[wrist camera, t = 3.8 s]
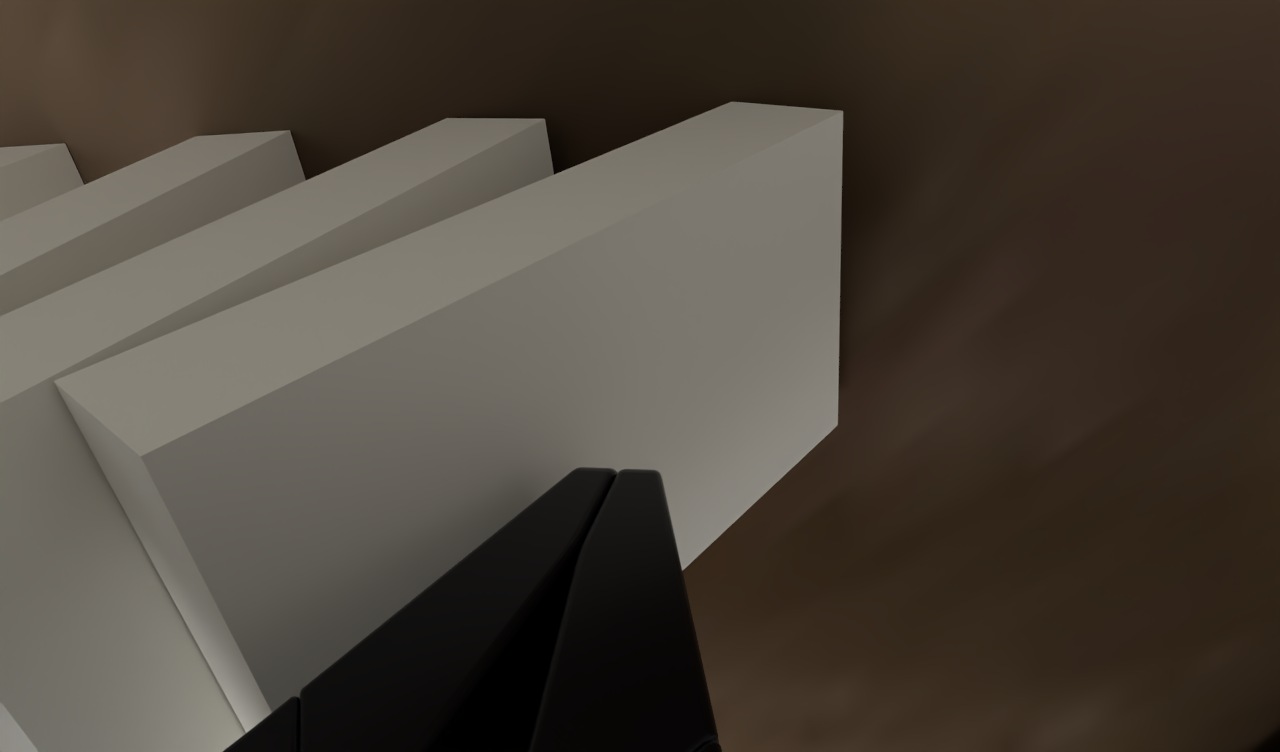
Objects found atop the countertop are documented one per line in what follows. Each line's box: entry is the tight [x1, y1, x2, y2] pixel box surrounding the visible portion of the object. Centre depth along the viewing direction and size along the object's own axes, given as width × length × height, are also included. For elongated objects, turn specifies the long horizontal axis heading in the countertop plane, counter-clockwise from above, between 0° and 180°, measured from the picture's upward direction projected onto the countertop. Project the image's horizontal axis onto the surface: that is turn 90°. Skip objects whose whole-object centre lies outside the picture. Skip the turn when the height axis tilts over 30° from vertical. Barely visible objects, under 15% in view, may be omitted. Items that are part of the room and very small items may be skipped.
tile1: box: [54, 102, 843, 733], centre depth 10 cm, size 2×5×9 cm, turn 7°
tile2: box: [0, 118, 554, 752], centre depth 10 cm, size 2×5×9 cm, turn 7°
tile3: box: [0, 130, 306, 316], centre depth 11 cm, size 2×5×9 cm, turn 7°
